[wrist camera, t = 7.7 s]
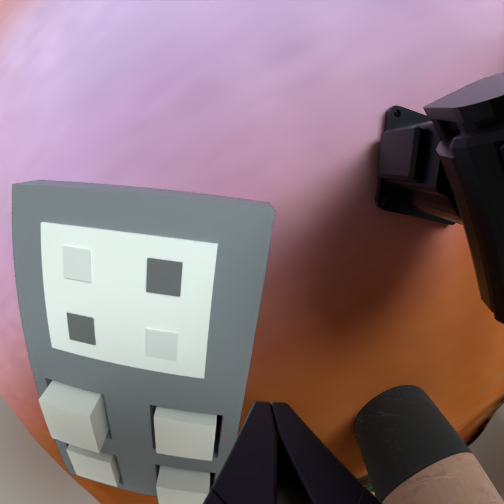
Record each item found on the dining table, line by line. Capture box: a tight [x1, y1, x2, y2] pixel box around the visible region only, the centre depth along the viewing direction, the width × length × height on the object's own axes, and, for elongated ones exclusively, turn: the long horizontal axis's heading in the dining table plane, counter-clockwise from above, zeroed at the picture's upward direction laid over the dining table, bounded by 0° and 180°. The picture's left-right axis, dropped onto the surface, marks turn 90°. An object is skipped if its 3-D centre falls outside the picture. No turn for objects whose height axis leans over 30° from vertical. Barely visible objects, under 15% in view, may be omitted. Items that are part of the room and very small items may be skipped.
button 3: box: [154, 406, 217, 461], centre depth 20 cm, size 4×4×3 cm
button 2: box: [67, 444, 121, 487], centre depth 21 cm, size 4×4×3 cm
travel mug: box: [354, 385, 504, 504], centre depth 14 cm, size 8×8×20 cm
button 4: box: [156, 465, 210, 504], centre depth 20 cm, size 4×4×3 cm
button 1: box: [39, 380, 110, 453], centre depth 18 cm, size 4×4×3 cm
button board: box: [12, 180, 275, 497], centre depth 19 cm, size 15×26×3 cm, turn 172°
